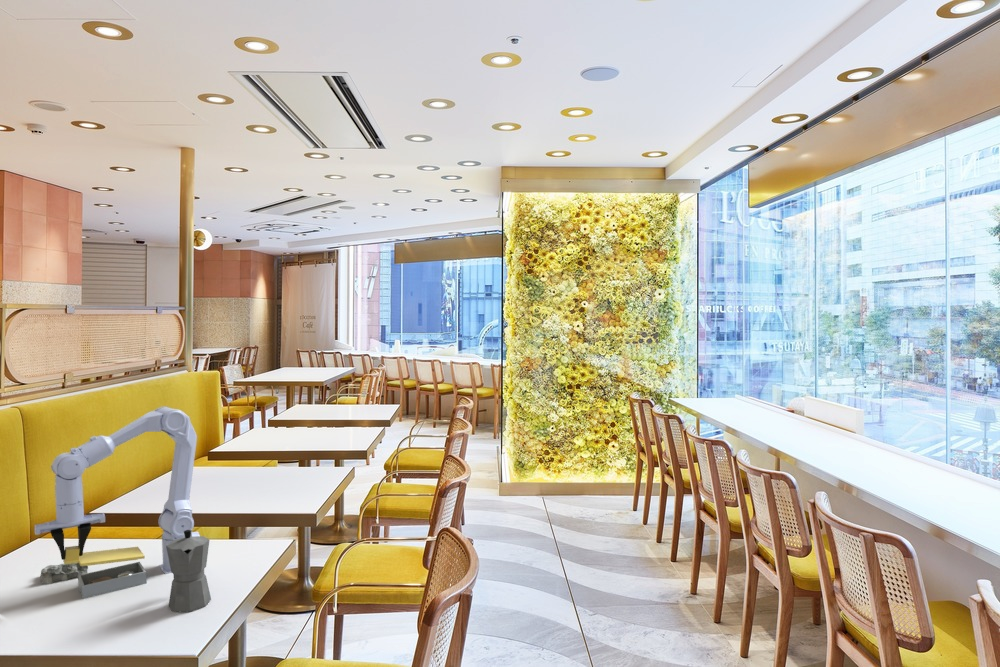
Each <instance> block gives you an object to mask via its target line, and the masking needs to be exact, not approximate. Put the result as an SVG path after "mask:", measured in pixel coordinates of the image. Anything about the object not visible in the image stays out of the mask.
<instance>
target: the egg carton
mask: <svg viewBox="0 0 1000 667" xmlns="http://www.w3.org/2000/svg"><path fill="white" fill-rule="evenodd" d="M88 569H89V566H80V564H79V563H73V564H64V563H59V564H50V565H47V566H45V567H44V568H42V569H41V570H40V577H39V578H41V579H40V580H41V585H42V584H46V585H47V584H48V585H49V584H53V583H54V582H58V581H62V582H65V581H69V579H71V578H78V575H82V574H86V573H88ZM79 570H81V571H79Z"/></svg>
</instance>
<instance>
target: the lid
mask: <svg viewBox="0 0 1000 667" xmlns="http://www.w3.org/2000/svg"><path fill="white" fill-rule="evenodd" d="M64 550H65V559H63V560H62V561H63V564H73V563H79V564H80V566H88V567H89V566H95V565H96V566H97V565H105V564H113V563H120V562H129V561H130V562H131V561H136V560H137V561H138V560H142V559H145V555H144V553H143V552H142V550H141V549H140V547H139V546H132V547H131V546H130V547H122V548H114V549H105V550H104V549H103V550H96V551H86V552H83V555H82V556H79V551H80V548H79V546H78V545H73V546H64Z"/></svg>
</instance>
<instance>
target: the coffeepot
mask: <svg viewBox="0 0 1000 667" xmlns="http://www.w3.org/2000/svg"><path fill="white" fill-rule="evenodd" d="M191 532H192V531H191V530H186V531H184V535H185V538H181V539H177V540H173V541H172V542H170V543H169V544H168V545H166V549H167V554H168V558H169V563H170V568H171V572H172V573H171V574H173V579H172V581H171V588H170V594H169V600H168V605H167V607H168V608H169V610H170V611H172V612H174V613H190V612H191V613H192V612H195V611H197V610H201V609H203V608H205V607H207V605H209V604H210V601H212V598H211V593H210V588H209V583H208V579H207V575H206V574H205V569H206V567H207V565H208V564H207V563H208V556H209V555H208V554H209V547H210V538H208V537H207V536H204V535H200V536H192V533H191ZM208 603H209V604H208Z"/></svg>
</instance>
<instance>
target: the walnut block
mask: <svg viewBox="0 0 1000 667" xmlns="http://www.w3.org/2000/svg"><path fill="white" fill-rule="evenodd" d="M110 579H112V578H110V577H108V576H105V577H102V578H99V579H95V580H92V581H90V584H92V583H97V582H101V581H105V580H110Z"/></svg>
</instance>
